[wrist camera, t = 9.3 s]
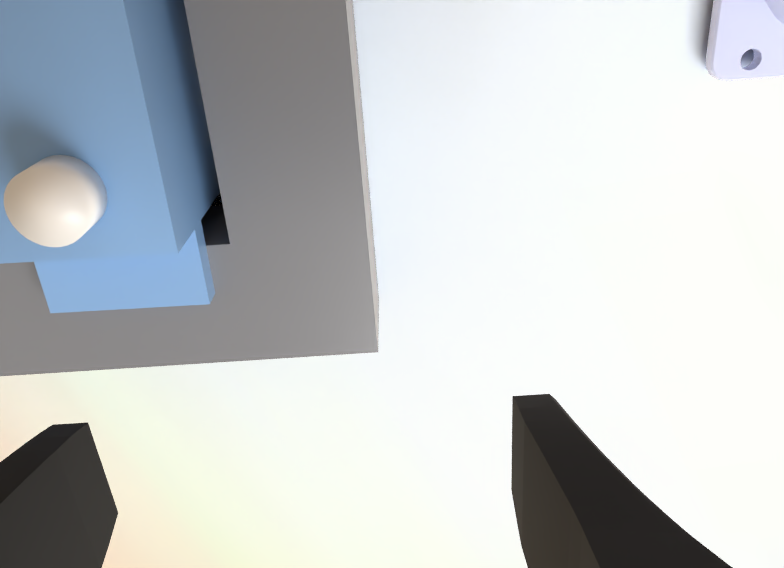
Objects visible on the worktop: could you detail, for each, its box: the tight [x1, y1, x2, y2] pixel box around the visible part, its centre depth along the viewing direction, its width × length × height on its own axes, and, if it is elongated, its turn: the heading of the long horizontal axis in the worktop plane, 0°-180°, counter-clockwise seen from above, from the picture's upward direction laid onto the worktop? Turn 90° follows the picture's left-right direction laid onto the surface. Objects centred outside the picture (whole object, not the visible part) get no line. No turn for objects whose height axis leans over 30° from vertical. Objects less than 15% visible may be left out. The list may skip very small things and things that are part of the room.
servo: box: [0, 0, 220, 313], centre depth 15 cm, size 4×10×6 cm, turn 3°
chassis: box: [0, 0, 379, 376], centre depth 16 cm, size 12×14×3 cm
